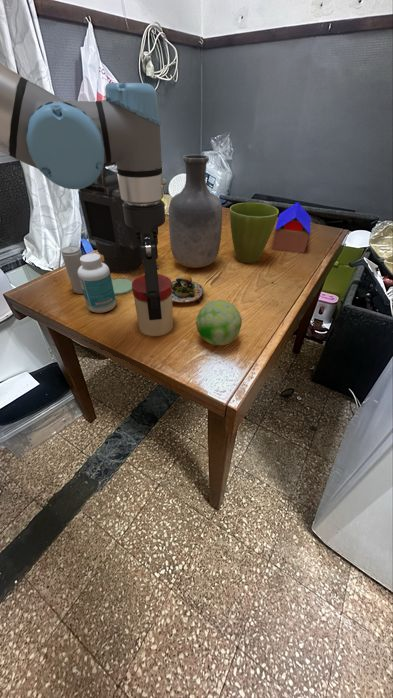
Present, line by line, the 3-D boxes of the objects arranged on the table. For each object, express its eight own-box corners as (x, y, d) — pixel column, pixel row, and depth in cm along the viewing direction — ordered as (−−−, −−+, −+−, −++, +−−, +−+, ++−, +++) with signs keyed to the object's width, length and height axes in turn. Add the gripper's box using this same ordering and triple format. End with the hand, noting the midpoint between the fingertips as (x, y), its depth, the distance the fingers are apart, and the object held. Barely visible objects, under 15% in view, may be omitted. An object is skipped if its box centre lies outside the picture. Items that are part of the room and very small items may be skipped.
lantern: (122, 250, 102) (106, 149, 82) (162, 262, 95) (155, 155, 75) (90, 266, 93) (63, 156, 73) (132, 281, 86) (115, 164, 66)
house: (271, 249, 105) (277, 215, 97) (276, 230, 119) (282, 200, 112) (305, 253, 102) (314, 219, 95) (306, 234, 117) (314, 203, 109)
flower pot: (248, 246, 106) (254, 199, 96) (278, 260, 98) (289, 211, 87) (217, 256, 100) (220, 207, 89) (246, 272, 91) (254, 220, 80)
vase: (207, 251, 103) (210, 150, 83) (227, 270, 92) (237, 159, 72) (164, 258, 98) (157, 153, 78) (180, 278, 87) (177, 163, 67)
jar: (146, 340, 65) (141, 299, 58) (133, 321, 71) (127, 282, 64) (179, 329, 69) (177, 289, 61) (164, 312, 74) (161, 273, 67)
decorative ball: (237, 328, 69) (242, 291, 63) (239, 356, 62) (245, 318, 55) (197, 326, 70) (197, 290, 63) (194, 353, 62) (194, 316, 55)
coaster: (109, 297, 79) (109, 295, 78) (101, 284, 84) (100, 282, 84) (138, 290, 82) (137, 288, 82) (128, 278, 87) (128, 276, 87)
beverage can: (78, 296, 79) (65, 254, 71) (70, 290, 82) (57, 249, 74) (94, 290, 82) (83, 249, 74) (86, 284, 84) (75, 244, 76)
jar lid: (174, 283, 66) (174, 275, 65) (168, 303, 60) (167, 294, 58) (138, 281, 67) (137, 272, 66) (128, 300, 61) (126, 291, 59)
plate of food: (152, 296, 80) (149, 271, 75) (181, 281, 86) (181, 257, 81) (183, 313, 74) (183, 287, 69) (212, 295, 80) (214, 270, 75)
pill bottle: (122, 302, 77) (113, 254, 68) (104, 317, 72) (92, 266, 63) (100, 296, 79) (88, 248, 70) (81, 309, 74) (66, 260, 65)
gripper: (170, 218, 44) (175, 334, 59) (159, 185, 59) (166, 283, 74) (120, 220, 43) (138, 337, 58) (123, 186, 58) (137, 285, 73)
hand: (154, 307), depth 66 cm, fingers closed on jar lid, 9 cm apart
